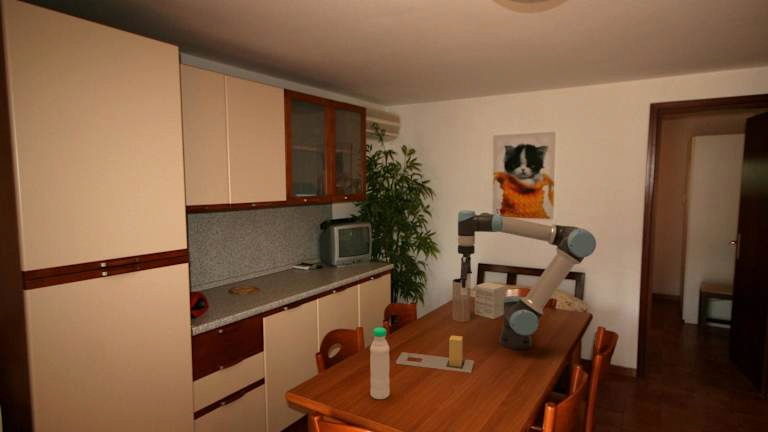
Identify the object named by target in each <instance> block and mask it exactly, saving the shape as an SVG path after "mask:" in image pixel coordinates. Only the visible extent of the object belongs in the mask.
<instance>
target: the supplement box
mask: <svg viewBox="0 0 768 432" xmlns="http://www.w3.org/2000/svg"><path fill="white" fill-rule="evenodd" d="M506 291H507V286H506V285H505V284H499V283H494V282H488V281H487V282H484V283H480V284H476V285H474V315H475V316H476V315H477V316H481V317H483V318H487V319H493V320H495V319H496V318H500V317H502V316H504V304H503V302H504V298H505V297H507V295H506V294H507V292H506Z"/></svg>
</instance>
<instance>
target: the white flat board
mask: <svg viewBox="0 0 768 432" xmlns="http://www.w3.org/2000/svg"><path fill="white" fill-rule="evenodd" d="M409 358H414V359H415V358H416V359H422V360H421V361H412V360H408V359H409ZM395 362H396V363H395V364H397V365H405V366H413V367H421V368H430V369H435V370H446V371H452V372H453V371H454V372H460V373H461V372H462V373H469V374H471V373H472V370H473V367H474V363H475V361H474V360H473V359H466V358H465V359H464V358H463V363H462V367H457V366H449V356H448V357H446V356H436V355H428V354H421V353H411V352H400V355H399V356H398V358H397V359H396V361H395Z"/></svg>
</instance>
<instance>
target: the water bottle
mask: <svg viewBox="0 0 768 432" xmlns="http://www.w3.org/2000/svg"><path fill="white" fill-rule="evenodd" d="M372 335H373V337H374V339H373V341H372V343H371V345H370V346H369V347H370V348H369V352H370V356H369V357H370V359H369V362H370V380H369V381H370V390H369V391H370V396H371V397H372V398H373V399H375V400H385V399H387V398H388V397H389V396H390V394H391V393H390V392H391V391H390V346H389V343H388V341H387V339H386V336H387V330H386V328H384V327H376V328H374V329H373V330H372Z"/></svg>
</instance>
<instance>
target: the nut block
mask: <svg viewBox="0 0 768 432" xmlns="http://www.w3.org/2000/svg"><path fill="white" fill-rule="evenodd" d="M463 338H464V337H463V336H460V335H452V334H451V335H450V337H449V342H448V346H449V347H448V353H449V354H448V358H449V363H448V364H449V366H457V367H462V363H463V359H464V358H463V351H464V350H463V347H464V346H463V345H464V344H463V343H464V342H463V341H464V340H463Z"/></svg>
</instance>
